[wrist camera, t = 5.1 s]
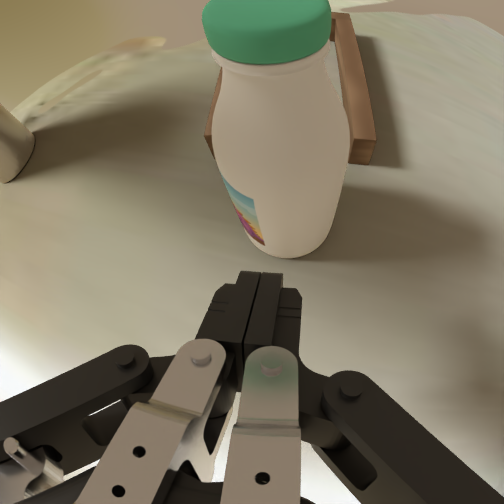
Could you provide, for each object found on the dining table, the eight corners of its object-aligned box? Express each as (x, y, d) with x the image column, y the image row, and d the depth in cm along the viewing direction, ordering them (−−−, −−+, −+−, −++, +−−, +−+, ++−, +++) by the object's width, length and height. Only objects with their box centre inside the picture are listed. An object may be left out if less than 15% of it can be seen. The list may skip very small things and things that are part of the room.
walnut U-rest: (214, 159, 30) (203, 135, 26) (241, 33, 36) (237, 12, 32) (368, 164, 27) (376, 140, 23) (347, 35, 34) (349, 13, 30)
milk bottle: (334, 183, 27) (364, -27, 8) (328, 265, 25) (395, 70, 6) (251, 176, 28) (192, -25, 9) (237, 255, 26) (120, 71, 7)
